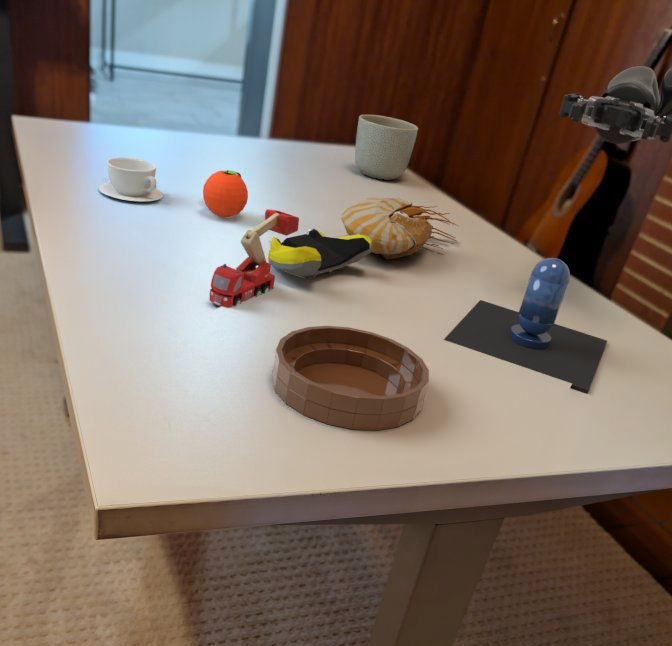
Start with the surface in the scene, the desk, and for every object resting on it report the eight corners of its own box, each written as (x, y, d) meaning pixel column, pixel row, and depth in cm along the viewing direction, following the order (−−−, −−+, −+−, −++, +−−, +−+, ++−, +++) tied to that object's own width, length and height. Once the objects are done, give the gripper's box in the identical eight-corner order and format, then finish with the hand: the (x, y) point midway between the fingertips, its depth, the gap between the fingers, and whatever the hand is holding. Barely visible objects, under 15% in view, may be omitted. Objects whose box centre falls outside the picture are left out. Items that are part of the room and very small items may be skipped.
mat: (606, 343, 101) (607, 340, 101) (587, 393, 87) (588, 390, 87) (479, 302, 106) (480, 299, 106) (441, 343, 92) (442, 340, 91)
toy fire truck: (205, 304, 89) (212, 223, 84) (269, 278, 100) (278, 205, 95) (228, 313, 88) (236, 232, 83) (290, 286, 99) (301, 213, 94)
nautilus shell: (435, 242, 129) (476, 281, 118) (319, 227, 120) (352, 268, 109) (450, 196, 124) (495, 232, 113) (331, 178, 115) (367, 215, 104)
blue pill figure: (552, 340, 98) (581, 260, 92) (544, 353, 94) (574, 270, 88) (514, 327, 99) (539, 248, 93) (504, 340, 95) (531, 257, 89)
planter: (371, 184, 154) (382, 127, 148) (338, 166, 162) (347, 112, 156) (418, 184, 160) (430, 131, 154) (384, 167, 168) (394, 116, 163)
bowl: (438, 391, 81) (447, 358, 79) (388, 454, 68) (397, 416, 66) (312, 346, 85) (318, 313, 83) (243, 397, 72) (248, 360, 70)
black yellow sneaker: (372, 275, 108) (319, 251, 112) (380, 237, 105) (325, 215, 109) (305, 295, 97) (249, 268, 101) (312, 254, 94) (254, 228, 99)
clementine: (220, 205, 123) (224, 160, 120) (256, 217, 121) (262, 172, 118) (192, 214, 117) (195, 167, 113) (230, 226, 115) (235, 179, 111)
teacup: (84, 189, 118) (84, 158, 116) (132, 182, 126) (133, 153, 123) (130, 207, 114) (131, 176, 112) (176, 199, 122) (178, 170, 119)
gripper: (583, 70, 105) (564, 74, 92) (688, 94, 101) (684, 102, 88) (565, 127, 109) (545, 139, 95) (666, 152, 105) (658, 168, 92)
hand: (611, 121), depth 92 cm, fingers open, 8 cm apart
